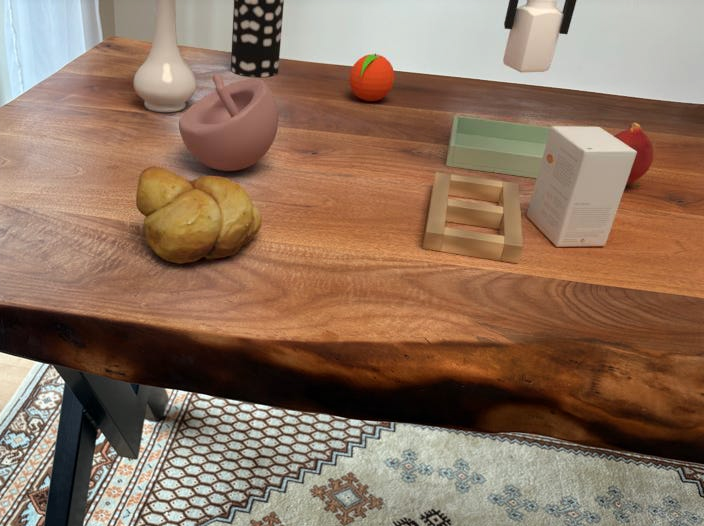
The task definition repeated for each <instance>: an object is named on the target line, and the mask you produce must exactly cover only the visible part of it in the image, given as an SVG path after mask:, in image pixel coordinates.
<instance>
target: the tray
mask: <svg viewBox="0 0 704 526" xmlns="http://www.w3.org/2000/svg"><path fill="white" fill-rule="evenodd" d="M551 127H552V126H545V125H544V126H543V125H538V124H528V123H522V122H521V123H520V122H513V121H512V122H511V121H505V120H497V119H488V118H480V117H473V116H463V115H456V114H454V115H453V120H452V123H451V129H450V133H449V140H448V146H447V153H446V161H445V166H446V167H450V168H457V169H465V170H470V171H471V170H472V171H478V172H479V171H480V172H486V173H487V172H488V173H493V172H494V173H495V174H500V173H501V174H502V175H509V176H516V177H523V178H531V179H537V176H538V172H539V168H540V165H541V161H542V158H543V154H544V150H545V147H546V143H547V139H548V136H549V132H550V129H551Z"/></svg>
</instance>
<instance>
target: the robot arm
mask: <svg viewBox="0 0 704 526" xmlns="http://www.w3.org/2000/svg"><path fill="white" fill-rule="evenodd" d="M519 2H520V0H508V5H507V8H506V9H507V10H506V14H505V18H504V22H503V27H504V30H510V29H512V27H513V22H514V18H515V14H516V10H517V8H518V6H519ZM577 2H578V1H577V0H565V1H564V4H563V7H562V10H561V12H562V13H563V15H564V17H563V21H562V25H561V29H560V32H559V35H568V34H569V30H570V26H571V23H572V18H573V16H574V13H575V8H576V4H577Z"/></svg>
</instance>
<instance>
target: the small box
mask: <svg viewBox="0 0 704 526" xmlns="http://www.w3.org/2000/svg"><path fill="white" fill-rule="evenodd" d="M550 127H551V129H550V132H549V136H548V139H547V143H546V147H545V150H544V154H543V158H542V161H541V165H540V168H539V172H538V176H537V178H535V183H534V187H533V190H532V194H531V198H530V202H529V205H528V208H527V212H526V217H527V218H528V219H529V221H531V222H532V224H534V226H535V227H536V228H537V229H538V230H539V231H540V232H541V233H542V234H543V235H545V237H546V238H547V239H548V240H549V241H550V242H551V243H552V244H553V245H554V246H555V247H556V248H562V247H563V248H564V247H567V248H569V247H572V248H573V247H605V246H606V244H607V241H608V238H609V235H610V232H611V230H612V228H613V227H612V226H613V224H614V221H615V218H616V215H617V212H618V210H619V206H620V203H621V202H622V201H621V200H622V197H623V195H624V192H625V189H626V185H627V184H626V183H627V180H628V177H629V174H630V171H631V168H632V165H633V163H634V160H635V157H636V154H637V151H635V150H634V149H632V148H631V147H629V146H628V145H626V144H625V143H623V142H622V141H620V140H618V139H617V138H615V137H614V136H615V135H612V134H611V133H609V132H608V131H606V130H605V129H603V128H602V127H600V126H581V125H580V126H579V125H578V126H577V125H575V126H574V125H553V126H550Z"/></svg>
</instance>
